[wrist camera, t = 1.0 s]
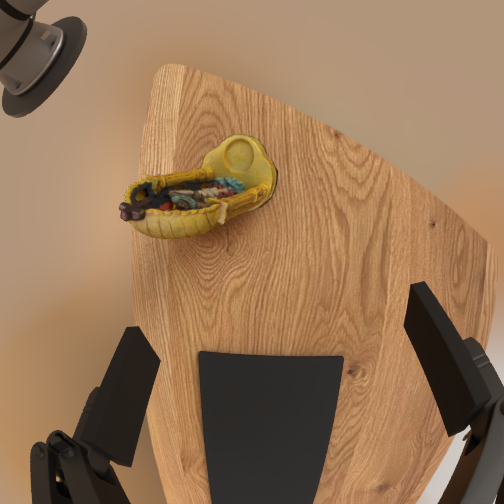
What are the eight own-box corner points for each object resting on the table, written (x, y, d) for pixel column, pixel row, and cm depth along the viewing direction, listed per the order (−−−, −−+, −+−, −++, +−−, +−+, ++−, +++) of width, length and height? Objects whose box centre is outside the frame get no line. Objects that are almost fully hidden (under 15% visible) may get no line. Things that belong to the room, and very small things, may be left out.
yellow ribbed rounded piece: (221, 259, 30) (166, 278, 15) (167, 210, 30) (81, 189, 15) (293, 176, 29) (305, 116, 14) (235, 130, 29) (199, 50, 14)
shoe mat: (200, 350, 30) (198, 353, 30) (342, 355, 29) (344, 358, 28) (216, 526, 32) (215, 529, 31) (302, 530, 31) (302, 533, 30)
